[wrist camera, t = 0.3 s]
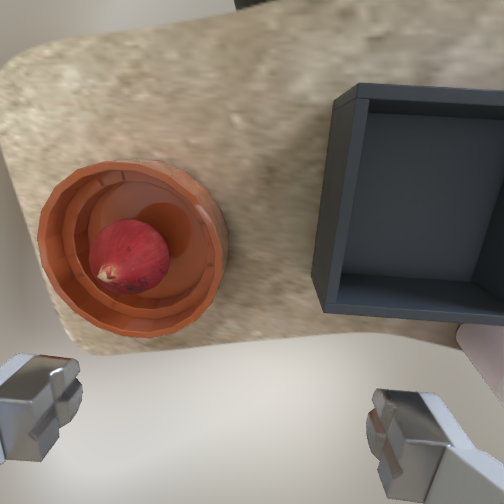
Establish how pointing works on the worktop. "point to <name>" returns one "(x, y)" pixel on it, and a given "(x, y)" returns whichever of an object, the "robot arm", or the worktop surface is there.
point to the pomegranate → (129, 256)
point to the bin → (413, 205)
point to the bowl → (147, 209)
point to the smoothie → (485, 353)
